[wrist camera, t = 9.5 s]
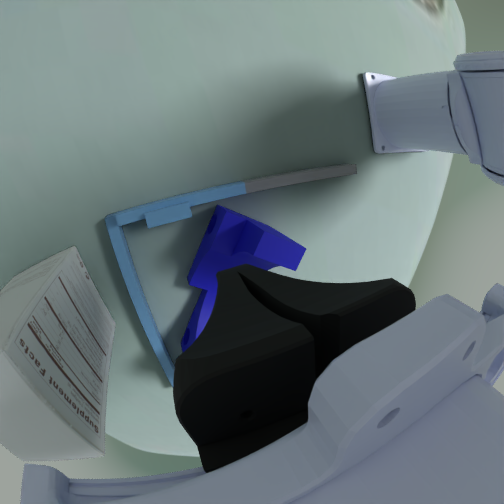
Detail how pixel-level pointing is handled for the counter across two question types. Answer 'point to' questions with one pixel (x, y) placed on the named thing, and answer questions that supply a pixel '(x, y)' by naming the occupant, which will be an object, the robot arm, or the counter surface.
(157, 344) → the blue grey open frame
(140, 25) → the counter surface
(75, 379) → the supplement box
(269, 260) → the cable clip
